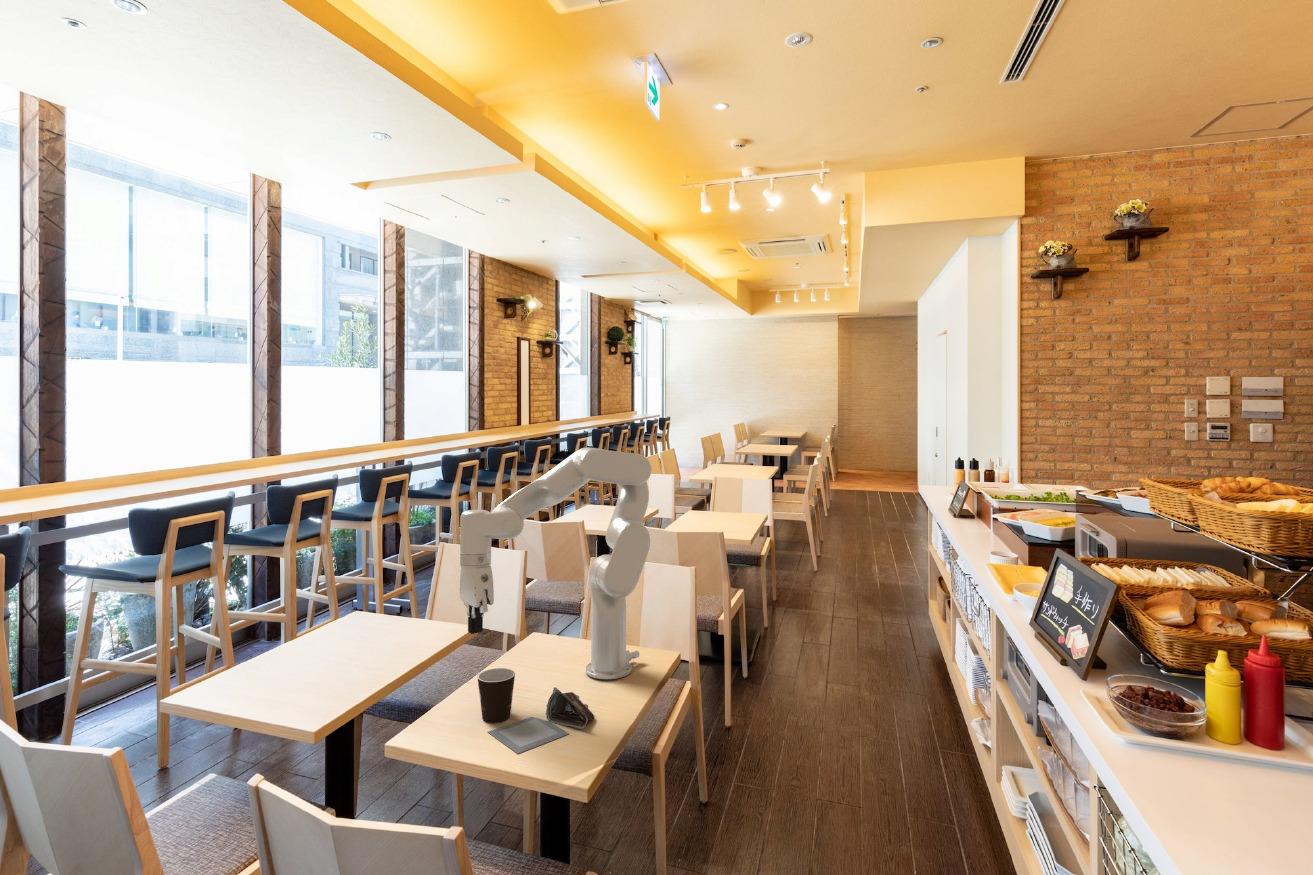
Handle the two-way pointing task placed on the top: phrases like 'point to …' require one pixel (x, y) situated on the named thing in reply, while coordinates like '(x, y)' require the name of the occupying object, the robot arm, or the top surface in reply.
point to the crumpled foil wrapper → (567, 702)
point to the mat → (527, 734)
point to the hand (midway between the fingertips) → (475, 631)
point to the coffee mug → (496, 694)
